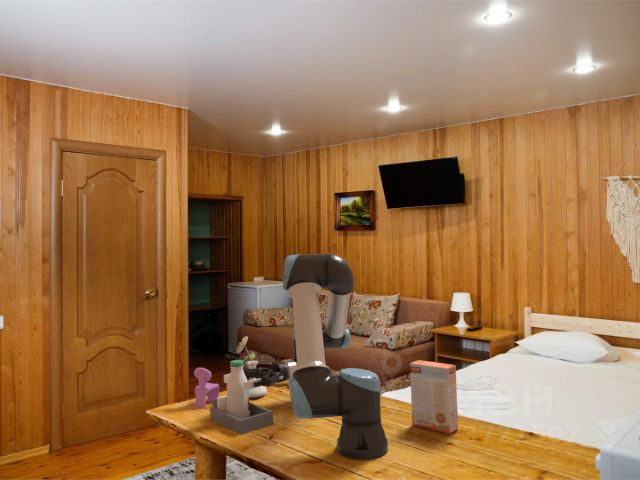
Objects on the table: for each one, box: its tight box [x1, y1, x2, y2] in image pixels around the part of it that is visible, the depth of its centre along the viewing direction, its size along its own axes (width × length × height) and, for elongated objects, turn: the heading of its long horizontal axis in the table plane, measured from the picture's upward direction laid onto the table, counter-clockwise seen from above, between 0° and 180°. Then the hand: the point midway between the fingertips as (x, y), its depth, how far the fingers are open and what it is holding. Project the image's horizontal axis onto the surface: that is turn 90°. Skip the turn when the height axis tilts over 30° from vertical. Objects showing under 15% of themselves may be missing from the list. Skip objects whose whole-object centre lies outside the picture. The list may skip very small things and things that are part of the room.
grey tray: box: [209, 398, 274, 435], centre depth 186 cm, size 20×13×7 cm, turn 40°
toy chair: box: [192, 367, 220, 410], centre depth 207 cm, size 8×9×15 cm
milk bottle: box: [226, 359, 250, 419], centre depth 187 cm, size 8×8×20 cm
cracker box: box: [409, 359, 459, 435], centre depth 174 cm, size 14×6×21 cm, turn 47°
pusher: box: [217, 394, 227, 413], centre depth 191 cm, size 2×10×7 cm, turn 130°
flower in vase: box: [235, 335, 268, 399], centre depth 216 cm, size 13×11×25 cm
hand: (234, 382), depth 187 cm, fingers open, 13 cm apart
